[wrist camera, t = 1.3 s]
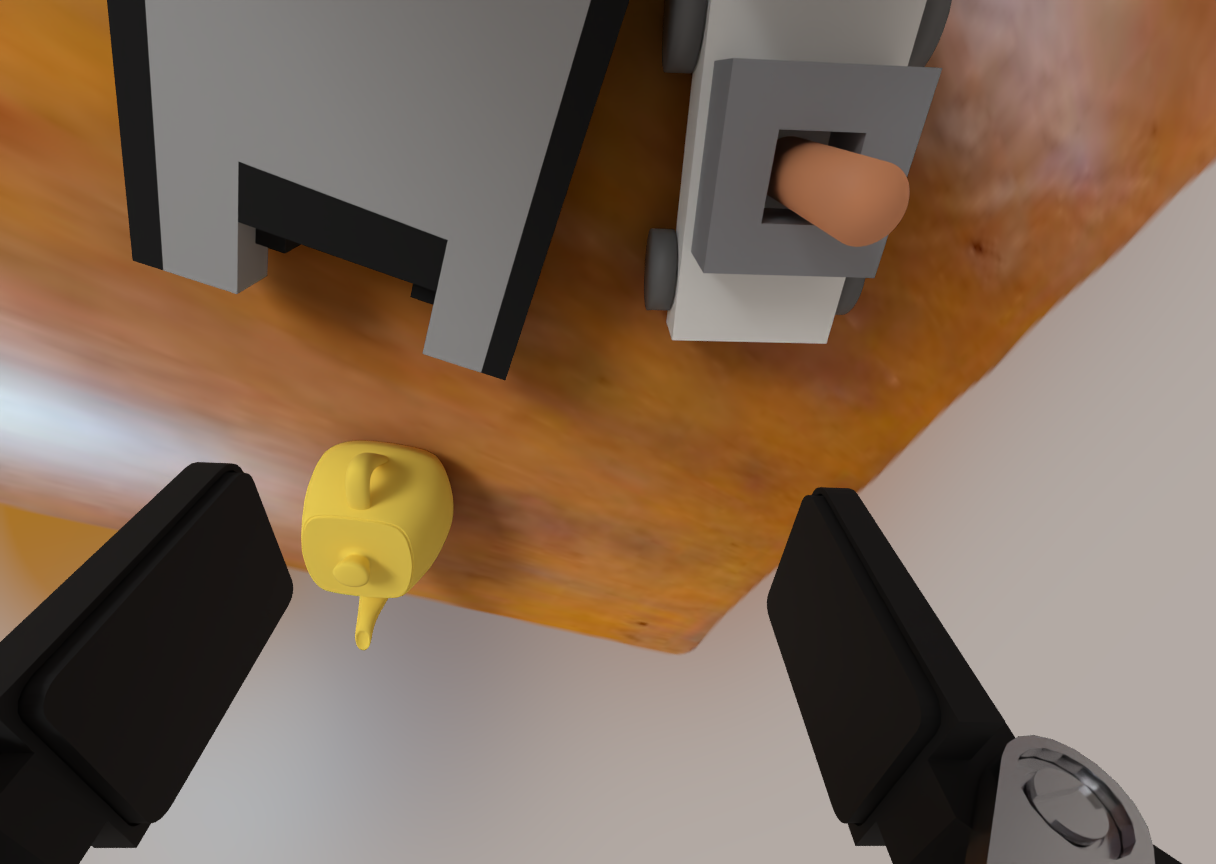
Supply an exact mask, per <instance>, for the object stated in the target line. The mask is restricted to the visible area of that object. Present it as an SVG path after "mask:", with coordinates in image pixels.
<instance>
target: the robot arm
mask: <svg viewBox="0 0 1216 864" xmlns="http://www.w3.org/2000/svg"><path fill="white" fill-rule="evenodd" d="M292 594H293V583H292V579H291V577H290V574H289V572H288V569H287V566H286V564H285V561H284V559H283V556H282V553H281V551H280V548H279V546H278V543H277V540H276V538H275V535H274V533H273V530H272V527H271V525H270V522H269V520H268V517H267V514H266V512H265V509H264V507H263V504H262V501H261V499H260V496H259V494H258V491H257V488H256V486H255V483H254V481H253V479H252V477H251V476H250V475H249V474H247V473H244V472H243V471H242V469H241V468H240V467H239V466H238V465H236V464H230V463H206V462H196V463H192V464H190V465H189V466H187V467H186V468H185V469H184V470H183V471H182V472H181V473H179V474H178V475H177V476H176V477H175V478H174V479H173V480H172V481H171V482H170V483H169V484H168V485H167V486H166V487H165V488H164V489H162V490H161V491H160V492H159V493H158V494H157V495H156V496H155V497H154V498H153V499H152V500H151V501H150V502H149V503H148V504H146V505H145V506H144V507H143V508H142V509H141V510H140V511H139V512H138V513H137V514H136V515H135V516H134V517H133V518H132V519H131V520H129V521H128V522H127V523H126V524H125V525H124V526H123V527H122V528H121V529H120V530H119V531H118V532H117V533H116V534H115V535H114V536H113V537H111V538H110V539H109V540H108V541H107V542H106V543H105V544H104V545H103V546H102V547H101V548H100V549H99V550H98V551H97V552H96V553H94V554H93V555H92V556H91V557H90V558H89V559H88V560H87V561H86V562H85V563H84V564H83V565H82V566H81V567H80V568H78V569H77V570H76V571H75V572H74V573H73V574H72V575H71V576H70V577H69V578H68V579H67V580H66V581H65V582H64V583H63V584H62V585H60V586H59V587H58V589H56V590H55V591H54V592H53V593H52V594H51V595H50V596H49V597H48V598H47V599H46V600H44V601H43V602H42V603H41V604H40V605H39V606H38V607H37V608H36V609H35V610H34V611H33V612H32V613H31V614H30V615H29V616H28V617H26V618H25V619H24V620H23V621H22V622H21V623H20V624H19V625H18V626H17V627H16V628H15V629H14V630H13V631H12V632H11V633H10V634H8V635H7V636H6V637H5V638H4V639H3V640H2V641H1V642H0V864H79V863H80V861H81V860H82V858H83V857H84V855H85V854H86V852H87V851H88V849H89V848H90V846H93V847H94V848H136V847H137V846H138V844H139V843H140V841H141V839H142V837H143V836H144V834H145V833H146V831H147V829H148V828H149V826H150V824H151V823H154V822H156V821H158V820H159V819H161V818H162V817H163V816H164V814H166V812H167V811H168V810H169V808H170V807H171V805H172V803H173V802H174V800H175V799H176V796H177V795H178V793H179V792H180V790H181V788H182V787H183V785H184V783H185V781H186V780H187V778H188V776H189V775H190V773H191V771H192V769H193V768H194V766H195V764H196V762H197V761H198V759H199V757H200V756H201V754H202V752H203V750H204V749H205V747H206V745H207V744H208V742H209V740H210V739H211V737H212V735H213V733H214V732H215V730H216V728H217V727H218V725H219V723H220V721H221V720H222V718H223V716H224V715H225V713H226V711H227V709H228V708H229V706H230V704H231V703H232V701H233V699H234V697H235V696H236V694H237V692H238V691H239V689H240V687H241V686H242V683H243V682H244V680H245V679H246V677H247V675H248V674H249V672H250V670H251V668H252V667H253V665H254V663H255V661H256V660H257V658H258V656H259V655H260V653H261V651H262V649H263V648H264V646H265V644H266V643H267V641H268V639H269V637H270V635H271V634H272V632H273V631H274V629H275V627H276V625H277V624H278V622H279V620H280V618H281V617H282V615H283V614H284V612H285V610H286V608H287V607H288V605H289V603H290V601H291V598H292ZM767 609H768V615H769V618H770V621H771V624H772V627H773V630H774V633H775V636H776V639H777V642H778V645H779V648H780V651H781V654H782V657H783V660H784V663H785V666H786V669H787V672H788V675H789V678H790V681H791V684H792V687H793V690H794V693H795V696H796V699H797V702H798V705H799V708H800V711H801V714H802V717H803V720H804V723H805V726H806V729H807V732H808V735H809V738H810V741H811V744H812V747H813V750H814V753H815V755H816V759H817V762H818V765H819V768H820V771H821V774H822V777H823V780H824V783H825V786H826V789H827V792H828V795H829V798H830V801H831V804H832V807H833V810H834V812H835V814H836V816H837V818H838V819H839V820H840V821H841V822H842V823H848V825H849V829H850V831H851V834H852V837H853V840H854V843H855V846H886V847H887V850H888V853H889V855H890V857H891V860H892V863H893V864H1182V863H1180V862H1179V861H1177V860H1176V859H1174V858H1173V857H1171V856H1170V855H1168V854H1167V853H1165V852H1164V851H1162V850H1161V849H1159V848H1158V847H1156V846H1155V845H1153V844H1152V840H1151V837H1150V833H1149V829H1148V826H1147V825H1146V823H1145V821H1144V819H1143V818H1142V816H1141V814H1140V812H1139V810H1138V809H1137V807H1136V805H1135V804H1134V802H1133V801H1132V800H1131V799H1130V798H1129V796H1128V795H1127V794H1126V793H1125V792H1124V790H1123V789H1122V788H1121V787H1120V786H1119V784H1118V783H1117V782H1116V781H1115V780H1114V779H1112V778H1111V777H1110V776H1109V775H1108V774H1107V773H1106V772H1105V771H1104V770H1102V769H1101V768H1100V767H1099V766H1098V765H1097V764H1095V763H1094V762H1093V761H1091V760H1090V759H1088V758H1087V757H1085V756H1084V755H1082V754H1080V753H1079V752H1078V751H1076V750H1075V749H1073V748H1070V747H1068V746H1066V745H1064V744H1062V743H1060V742H1057V741H1055V740H1053V739H1048V738H1044V737H1040V736H1035V735H1030V736H1018V737H1017V738H1015V737H1014V735H1013V734H1012V732H1011V730H1010V729H1009V727H1008V726H1007V724H1006V723H1005V720H1004V719H1003V717H1002V716H1001V714H1000V713H999V711H998V710H997V708H996V707H995V705H994V703H993V702H992V700H991V699H990V698H989V696H988V694H987V693H986V691H985V690H984V688H983V687H982V685H981V684H980V682H979V680H978V679H977V677H976V676H975V674H974V673H973V671H972V670H971V668H970V667H969V665H968V663H967V662H966V661H965V659H964V657H963V656H962V654H961V653H960V651H959V650H958V648H957V647H956V645H955V643H954V642H953V640H952V639H951V637H950V636H949V634H948V633H947V631H946V630H945V628H944V627H943V625H942V623H941V622H940V620H939V619H938V617H937V616H936V614H935V613H934V611H933V610H932V608H931V607H930V605H929V603H928V602H927V600H926V599H925V597H924V596H923V594H922V593H921V591H920V590H919V588H918V587H917V585H916V583H915V582H914V580H913V579H912V577H911V576H910V574H909V573H908V571H907V570H906V568H905V567H904V565H903V563H902V562H901V560H900V559H899V558H898V556H897V554H896V553H895V551H894V550H893V548H892V547H891V545H890V543H889V542H888V541H887V539H886V537H885V536H884V534H883V533H882V531H881V530H880V528H879V527H878V525H877V524H876V522H875V520H874V519H873V517H872V516H871V514H870V513H869V511H868V510H867V508H866V507H865V505H864V503H863V502H862V500H861V499H860V497H859V496H858V494H857V493H856V492H855V491H854V490H852V489H849V488H824V487H820V488H816V489H815V490H814V492H813V494H812V495H807V496H805V497H804V498H803V500H802V503H801V505H800V508H799V511H798V514H797V516H796V519H795V522H794V525H793V527H792V530H791V533H790V536H789V538H788V541H787V544H786V547H785V549H784V552H783V555H782V558H781V561H780V563H779V566H778V569H777V572H776V574H775V577H774V580H773V583H772V585H771V589H770V591H769V594H768V599H767Z"/></svg>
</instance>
